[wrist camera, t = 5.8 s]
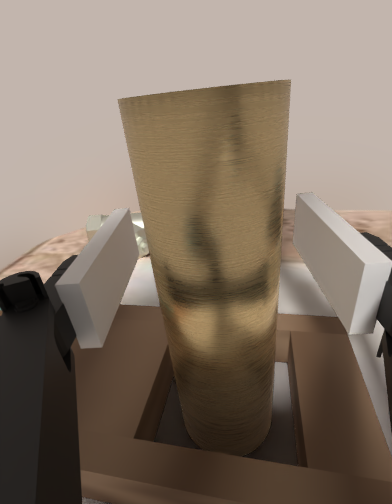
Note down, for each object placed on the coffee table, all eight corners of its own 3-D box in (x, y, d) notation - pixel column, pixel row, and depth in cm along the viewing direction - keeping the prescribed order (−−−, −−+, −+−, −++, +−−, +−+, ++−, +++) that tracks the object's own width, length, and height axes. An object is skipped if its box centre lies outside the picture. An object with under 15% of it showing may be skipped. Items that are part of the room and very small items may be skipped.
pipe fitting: (159, 265, 28) (165, 233, 34) (152, 232, 26) (160, 203, 32) (83, 271, 29) (101, 238, 34) (70, 239, 27) (92, 209, 32)
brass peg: (270, 375, 16) (283, 81, 9) (273, 466, 12) (302, 76, 5) (192, 367, 16) (150, 97, 10) (173, 449, 13) (82, 102, 6)
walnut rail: (334, 349, 17) (341, 314, 15) (398, 568, 9) (423, 536, 8) (-19, 320, 22) (-36, 293, 21) (-165, 440, 15) (-206, 409, 13)
